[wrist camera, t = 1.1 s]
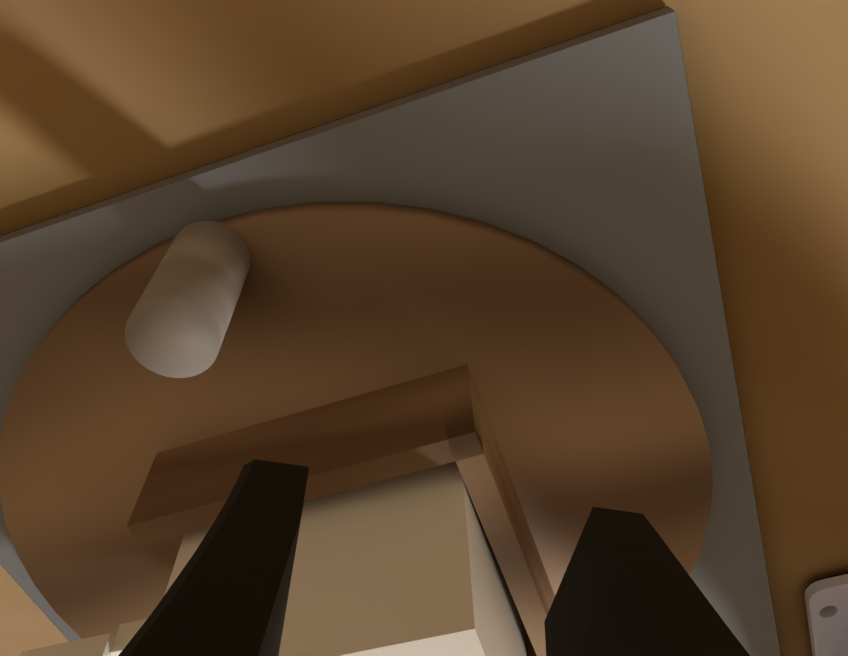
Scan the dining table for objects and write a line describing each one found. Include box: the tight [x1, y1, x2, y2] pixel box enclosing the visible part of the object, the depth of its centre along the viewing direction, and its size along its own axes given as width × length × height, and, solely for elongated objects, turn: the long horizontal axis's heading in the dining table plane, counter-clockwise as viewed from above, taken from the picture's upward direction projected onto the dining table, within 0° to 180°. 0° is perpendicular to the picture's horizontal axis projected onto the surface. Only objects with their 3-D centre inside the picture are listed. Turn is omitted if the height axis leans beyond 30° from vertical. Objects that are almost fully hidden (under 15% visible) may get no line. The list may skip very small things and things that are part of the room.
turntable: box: [0, 202, 713, 656], centre depth 20 cm, size 18×18×4 cm
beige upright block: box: [20, 461, 527, 656], centre depth 19 cm, size 12×6×6 cm, turn 106°
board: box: [0, 6, 781, 656], centre depth 24 cm, size 30×20×1 cm, turn 19°
